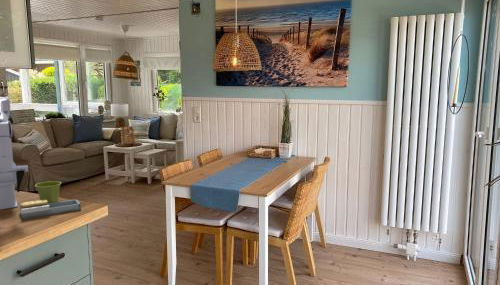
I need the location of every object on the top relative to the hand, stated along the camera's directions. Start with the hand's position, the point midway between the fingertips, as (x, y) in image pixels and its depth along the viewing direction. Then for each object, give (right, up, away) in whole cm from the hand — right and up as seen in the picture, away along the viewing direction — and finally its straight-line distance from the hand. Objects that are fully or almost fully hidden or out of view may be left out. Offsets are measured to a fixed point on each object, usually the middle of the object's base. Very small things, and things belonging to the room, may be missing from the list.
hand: (6, 192), depth 140 cm
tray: (+15, -8, +12) cm, 21 cm away
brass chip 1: (+5, -7, +5) cm, 10 cm away
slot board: (+7, -9, +6) cm, 13 cm away
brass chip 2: (+9, -7, +7) cm, 13 cm away
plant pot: (+7, -7, +17) cm, 20 cm away
